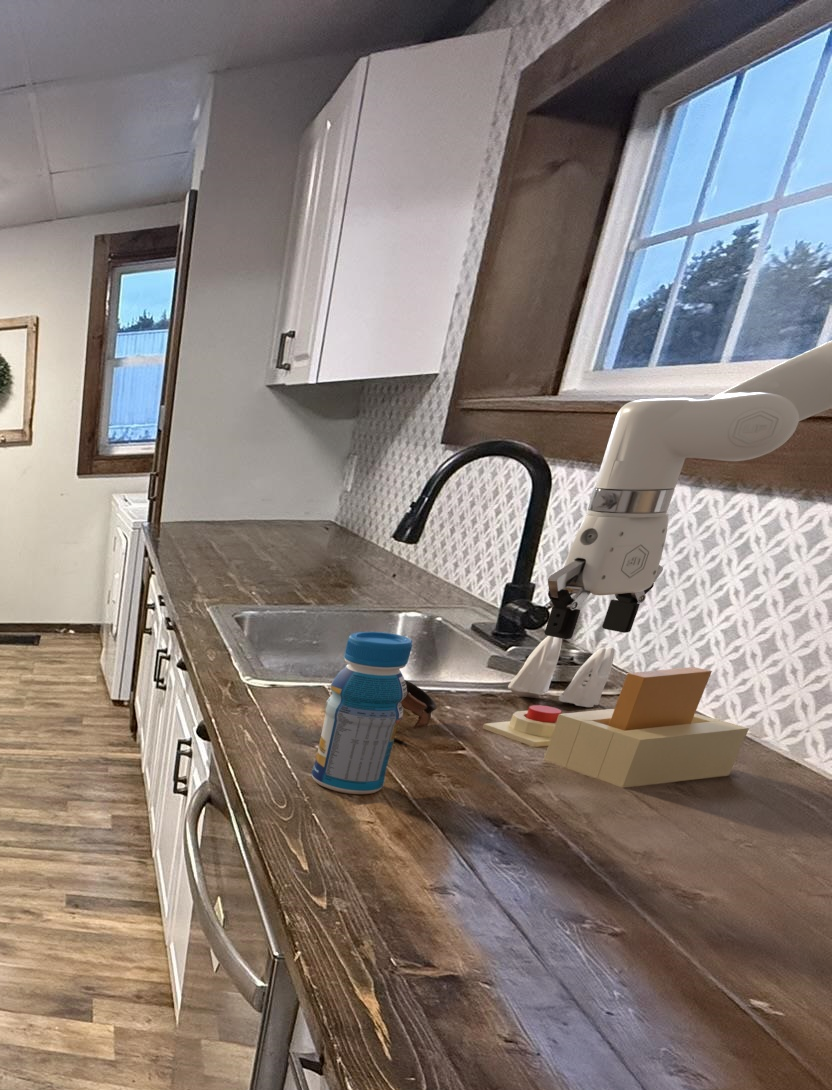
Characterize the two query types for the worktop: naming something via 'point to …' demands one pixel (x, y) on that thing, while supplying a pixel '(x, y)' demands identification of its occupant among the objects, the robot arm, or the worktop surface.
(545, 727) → the button block
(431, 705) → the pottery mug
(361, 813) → the worktop surface
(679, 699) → the toast
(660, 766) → the toaster
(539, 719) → the pop button
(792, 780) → the worktop surface
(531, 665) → the shaker set
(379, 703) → the beverage bottle
